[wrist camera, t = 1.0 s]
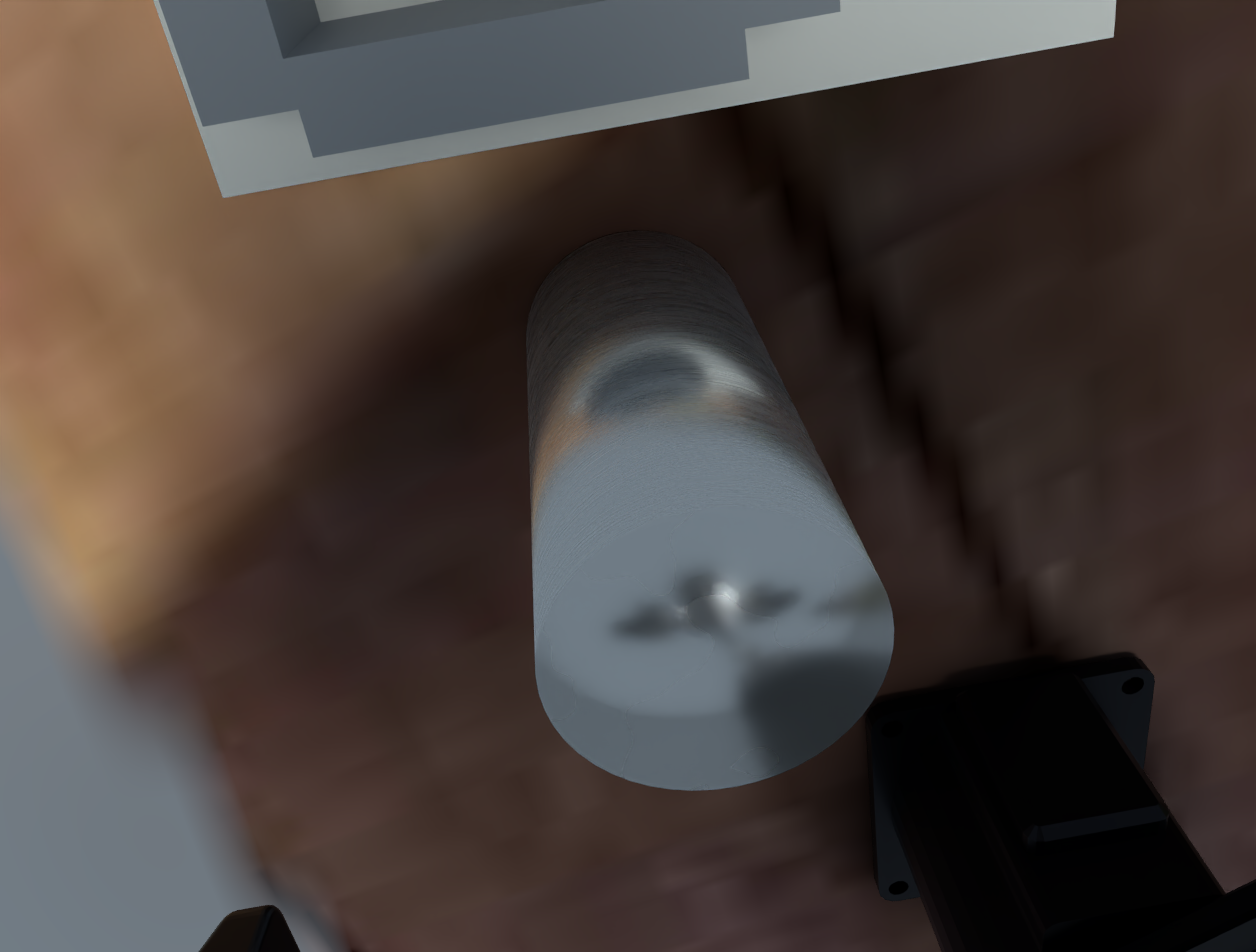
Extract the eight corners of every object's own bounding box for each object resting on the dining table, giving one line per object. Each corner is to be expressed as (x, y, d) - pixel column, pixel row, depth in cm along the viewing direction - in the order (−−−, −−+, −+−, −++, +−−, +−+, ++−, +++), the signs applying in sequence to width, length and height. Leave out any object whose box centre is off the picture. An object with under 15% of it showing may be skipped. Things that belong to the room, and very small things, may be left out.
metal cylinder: (755, 414, 21) (898, 756, 13) (549, 451, 21) (570, 816, 13) (733, 212, 19) (888, 476, 11) (504, 253, 19) (500, 546, 11)
